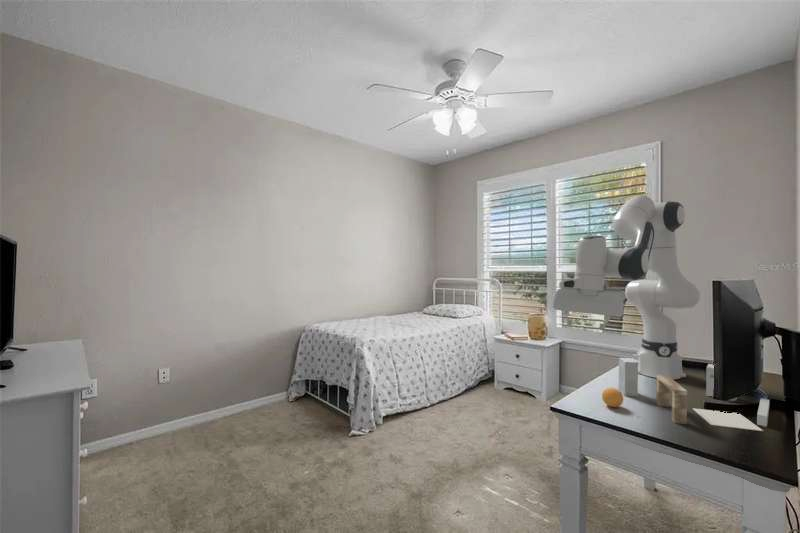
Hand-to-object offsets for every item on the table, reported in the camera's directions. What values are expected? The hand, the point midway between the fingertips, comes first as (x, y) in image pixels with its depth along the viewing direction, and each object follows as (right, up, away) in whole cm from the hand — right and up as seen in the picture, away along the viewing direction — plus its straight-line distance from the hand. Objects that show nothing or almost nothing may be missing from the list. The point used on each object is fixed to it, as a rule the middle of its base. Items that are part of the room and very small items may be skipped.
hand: (585, 327), depth 118 cm
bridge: (+25, -26, -4) cm, 36 cm away
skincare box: (+22, -26, +13) cm, 36 cm away
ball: (+9, -23, +1) cm, 25 cm away
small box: (+52, -26, +9) cm, 59 cm away
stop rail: (+51, -26, -6) cm, 58 cm away
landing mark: (+38, -26, -8) cm, 47 cm away
